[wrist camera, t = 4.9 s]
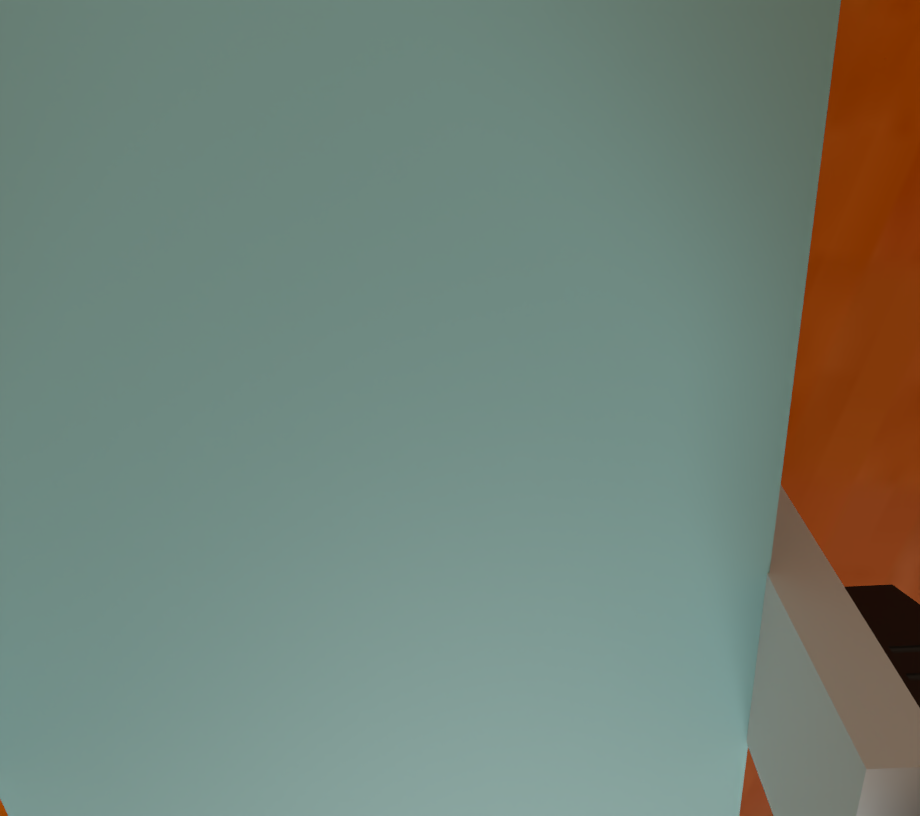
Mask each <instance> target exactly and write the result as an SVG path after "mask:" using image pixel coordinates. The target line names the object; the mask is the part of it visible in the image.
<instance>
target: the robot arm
mask: <svg viewBox="0 0 920 816" xmlns="http://www.w3.org/2000/svg"><path fill="white" fill-rule="evenodd" d="M746 742H747V745H748V747H749V750H750V753H751V756H752V758H753V761H754V764H755V766H756V769H757V772H758V775H759V777H760V780H761V783H762V786H763V788H764V791H765V794H766V796H767V799H768V802H769V805H770V807H771V810H772V813H773V816H920V604H918V603H917V602H915V601H914V600H913V599H911V598H910V597H909V596H907V595H906V594H904V593H903V592H902V591H900V590H899V589H898V588H896V587H895V586H893V585H875V586H853V587H844V586H843V584H842V582H841V581H840V579H839V578H838V576H837V574H836V573H835V571H834V570H833V568H832V566H831V565H830V563H829V562H828V560H827V558H826V557H825V555H824V554H823V552H822V550H821V549H820V547H819V546H818V544H817V542H816V541H815V539H814V537H813V536H812V534H811V533H810V531H809V529H808V528H807V526H806V525H805V523H804V521H803V520H802V518H801V517H800V515H799V513H798V512H797V510H796V509H795V507H794V505H793V504H792V502H791V501H790V499H789V497H788V496H787V494H786V493H785V491H784V489H783V488H782V486H781V484H780V492H779V500H778V508H777V516H776V524H775V532H774V540H773V548H772V556H771V564H770V572H769V573H767V579H766V587H765V595H764V603H763V611H762V620H761V628H760V636H759V644H758V652H757V660H756V668H755V676H754V685H753V693H752V701H751V709H750V717H749V725H748V733H747V741H746Z"/></svg>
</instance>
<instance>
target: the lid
mask: <svg viewBox="0 0 920 816" xmlns="http://www.w3.org/2000/svg"><path fill="white" fill-rule="evenodd" d="M840 3H841V0H0V799H1V801H2V803H3V805H4V807H5V809H6V812H7V814H8V816H739V813H740V805H741V797H742V789H743V781H744V773H745V765H746V757H747V749H748V745H747V742H746V741H747V733H748V725H749V717H750V709H751V701H752V693H753V685H754V676H755V668H756V660H757V652H758V644H759V636H760V628H761V620H762V611H763V603H764V595H765V587H766V579H767V573H769V572H770V564H771V556H772V548H773V540H774V532H775V524H776V516H777V508H778V500H779V492H780V484H781V476H782V468H783V460H784V452H785V444H786V436H787V428H788V420H789V412H790V404H791V396H792V388H793V380H794V372H795V364H796V356H797V348H798V340H799V332H800V324H801V316H802V308H803V300H804V292H805V284H806V276H807V268H808V260H809V251H810V243H811V235H812V227H813V219H814V211H815V203H816V195H817V187H818V179H819V171H820V163H821V155H822V147H823V139H824V131H825V123H826V115H827V107H828V99H829V91H830V83H831V75H832V67H833V59H834V51H835V43H836V35H837V27H838V19H839V11H840Z"/></svg>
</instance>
